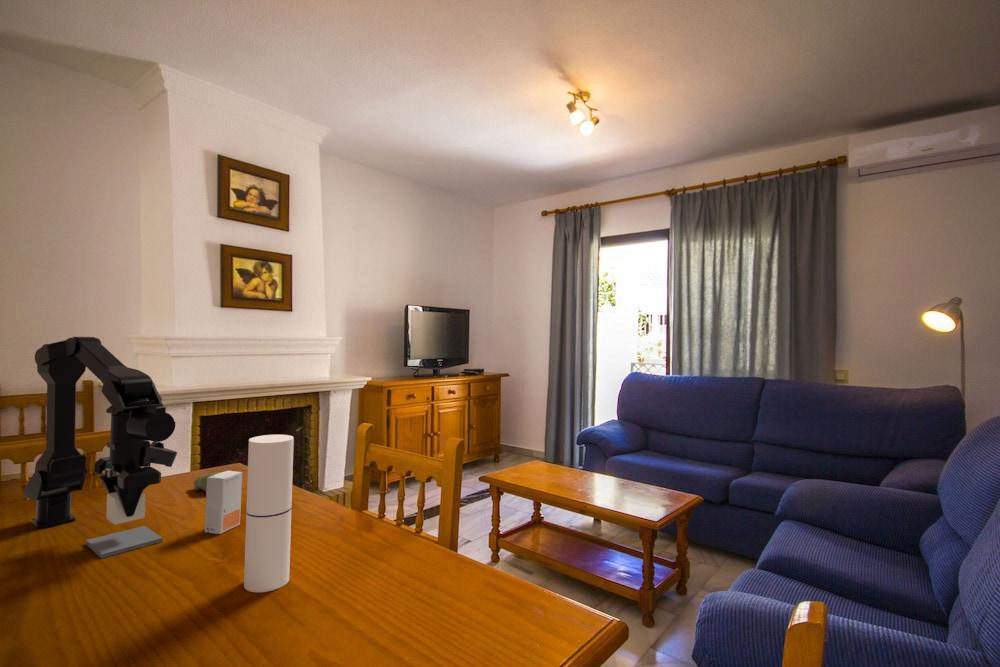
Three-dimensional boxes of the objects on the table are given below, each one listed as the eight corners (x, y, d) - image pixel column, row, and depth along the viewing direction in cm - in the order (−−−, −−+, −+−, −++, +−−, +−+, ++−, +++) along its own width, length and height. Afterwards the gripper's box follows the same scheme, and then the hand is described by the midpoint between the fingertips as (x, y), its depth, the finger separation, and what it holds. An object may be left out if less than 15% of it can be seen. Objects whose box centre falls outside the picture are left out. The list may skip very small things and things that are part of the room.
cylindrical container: (244, 596, 81) (248, 444, 81) (244, 576, 87) (248, 436, 88) (290, 586, 84) (295, 441, 85) (287, 569, 91) (291, 433, 91)
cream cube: (106, 518, 99) (107, 493, 99) (135, 511, 103) (136, 488, 103) (114, 524, 96) (115, 499, 97) (144, 517, 100) (145, 493, 101)
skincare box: (220, 535, 105) (222, 478, 105) (203, 532, 106) (205, 477, 106) (241, 524, 111) (243, 471, 111) (224, 522, 112) (226, 470, 112)
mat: (85, 544, 99) (86, 540, 99) (144, 529, 107) (144, 525, 107) (101, 558, 93) (101, 554, 93) (162, 541, 101) (162, 537, 101)
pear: (209, 475, 129) (187, 475, 134) (210, 495, 129) (188, 495, 133) (229, 470, 134) (207, 471, 139) (230, 490, 134) (208, 490, 138)
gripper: (191, 437, 101) (188, 513, 101) (156, 425, 112) (153, 494, 112) (125, 445, 92) (122, 529, 92) (94, 432, 103) (92, 506, 103)
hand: (125, 513), depth 100 cm, fingers closed on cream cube, 5 cm apart
